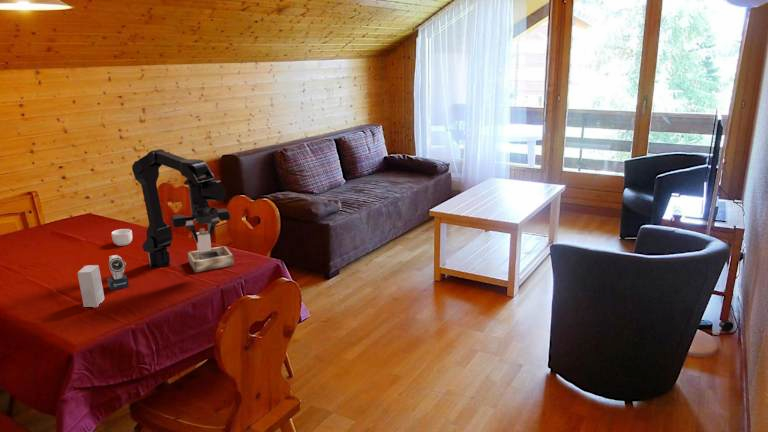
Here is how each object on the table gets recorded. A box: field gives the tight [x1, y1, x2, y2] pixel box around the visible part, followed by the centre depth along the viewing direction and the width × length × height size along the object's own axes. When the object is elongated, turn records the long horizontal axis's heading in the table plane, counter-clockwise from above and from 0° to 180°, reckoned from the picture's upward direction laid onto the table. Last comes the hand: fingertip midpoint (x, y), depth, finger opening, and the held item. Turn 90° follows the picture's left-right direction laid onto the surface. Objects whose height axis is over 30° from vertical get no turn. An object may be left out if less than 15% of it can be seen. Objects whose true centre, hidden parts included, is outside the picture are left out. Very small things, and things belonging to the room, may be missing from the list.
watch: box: [106, 254, 130, 291], centre depth 189 cm, size 6×8×11 cm
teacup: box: [111, 228, 133, 247], centre depth 234 cm, size 10×8×5 cm
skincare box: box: [77, 264, 105, 308], centre depth 176 cm, size 6×4×12 cm
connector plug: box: [196, 228, 212, 252], centre depth 195 cm, size 4×4×8 cm
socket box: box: [187, 245, 235, 273], centre depth 210 cm, size 14×12×4 cm
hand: (203, 241), depth 195 cm, fingers closed on connector plug, 4 cm apart
